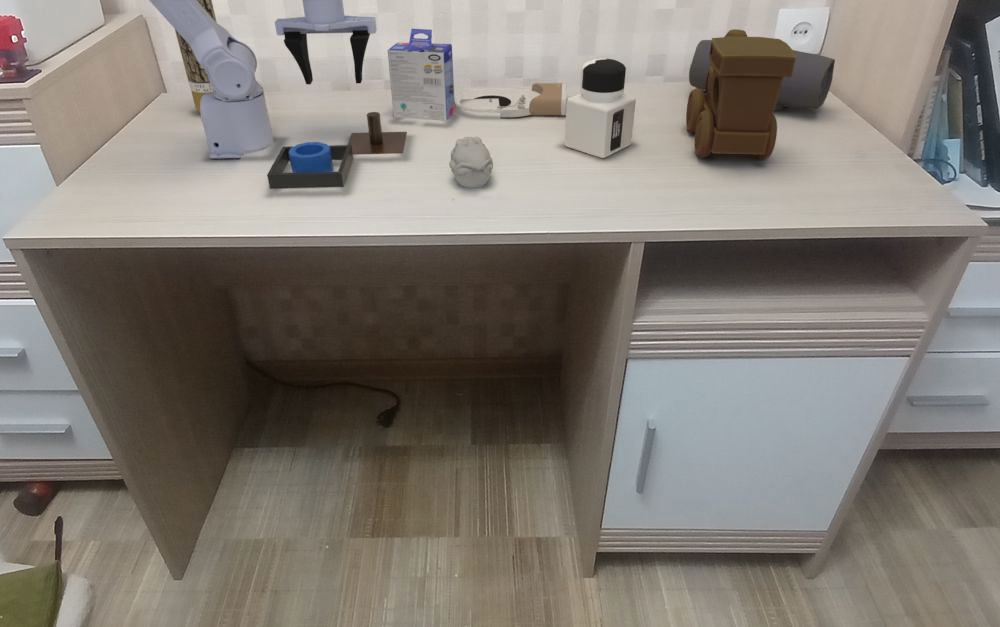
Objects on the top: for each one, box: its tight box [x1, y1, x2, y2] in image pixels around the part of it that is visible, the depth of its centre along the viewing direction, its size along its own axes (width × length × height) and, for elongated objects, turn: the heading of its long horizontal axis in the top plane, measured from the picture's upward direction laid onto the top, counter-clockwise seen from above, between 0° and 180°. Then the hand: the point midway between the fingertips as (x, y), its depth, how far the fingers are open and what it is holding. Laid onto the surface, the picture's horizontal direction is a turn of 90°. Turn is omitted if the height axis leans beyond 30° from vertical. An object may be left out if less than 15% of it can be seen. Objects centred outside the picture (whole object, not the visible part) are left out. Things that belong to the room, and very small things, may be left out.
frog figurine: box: [448, 136, 494, 189], centre depth 98 cm, size 6×7×7 cm
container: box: [564, 58, 637, 159], centre depth 108 cm, size 8×8×13 cm
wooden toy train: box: [685, 29, 796, 160], centre depth 106 cm, size 20×11×17 cm, turn 175°
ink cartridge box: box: [387, 28, 456, 121], centre depth 118 cm, size 10×6×14 cm, turn 78°
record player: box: [454, 82, 567, 118], centre depth 126 cm, size 12×3×20 cm
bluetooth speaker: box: [688, 39, 836, 111], centre depth 124 cm, size 23×9×10 cm, turn 55°
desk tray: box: [266, 144, 354, 190], centre depth 102 cm, size 10×10×3 cm
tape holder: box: [347, 111, 408, 156], centre depth 110 cm, size 9×9×6 cm
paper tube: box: [174, 0, 218, 114], centre depth 120 cm, size 7×7×25 cm
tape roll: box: [289, 141, 335, 173], centre depth 101 cm, size 6×6×4 cm
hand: (334, 82), depth 109 cm, fingers open, 7 cm apart
